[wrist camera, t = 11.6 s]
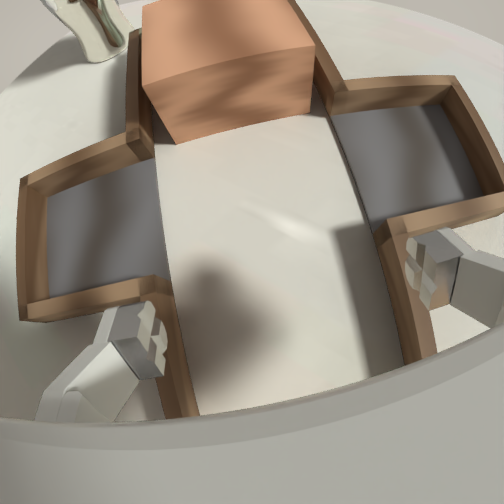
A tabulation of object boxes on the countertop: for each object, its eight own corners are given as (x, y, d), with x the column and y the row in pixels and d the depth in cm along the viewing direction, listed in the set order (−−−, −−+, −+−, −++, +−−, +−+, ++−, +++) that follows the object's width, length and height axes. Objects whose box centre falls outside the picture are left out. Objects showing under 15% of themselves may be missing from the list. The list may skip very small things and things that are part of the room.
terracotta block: (177, 146, 22) (142, 86, 15) (167, 61, 24) (142, 6, 18) (309, 114, 22) (315, 45, 15) (274, 36, 24) (269, -25, 17)
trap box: (71, 443, 18) (48, 453, 15) (55, 90, 25) (41, 74, 22) (526, 336, 16) (551, 335, 13) (380, 12, 24) (385, -9, 21)
